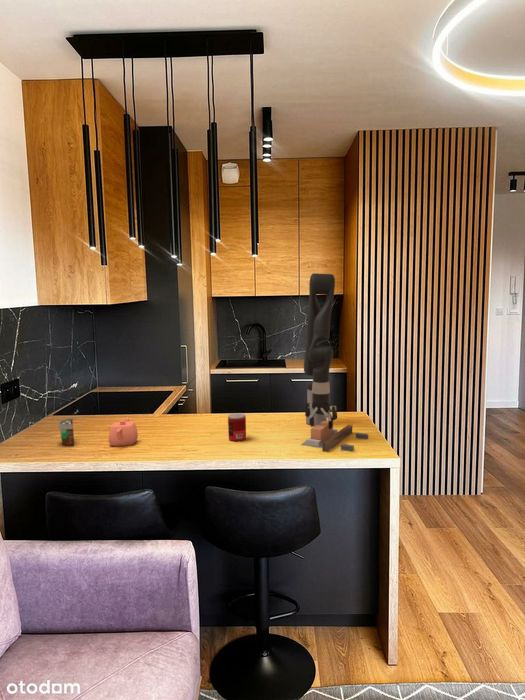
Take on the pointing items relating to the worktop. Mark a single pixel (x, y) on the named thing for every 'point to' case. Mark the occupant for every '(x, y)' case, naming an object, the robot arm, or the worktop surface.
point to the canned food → (237, 427)
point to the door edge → (336, 438)
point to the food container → (67, 432)
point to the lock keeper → (316, 441)
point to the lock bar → (321, 431)
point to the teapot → (123, 433)
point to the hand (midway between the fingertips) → (321, 427)
